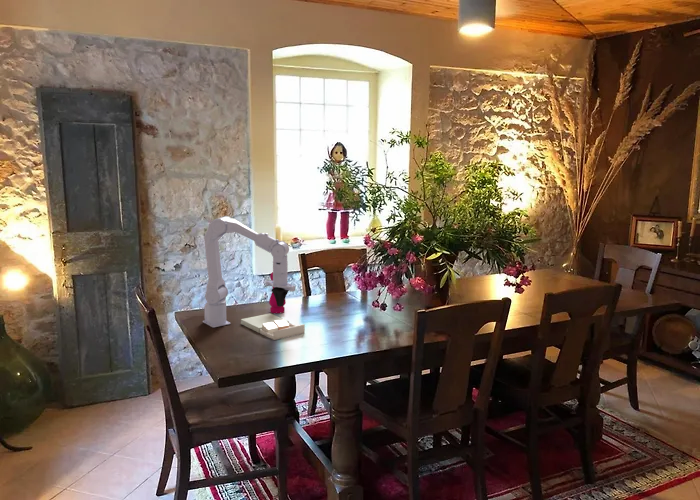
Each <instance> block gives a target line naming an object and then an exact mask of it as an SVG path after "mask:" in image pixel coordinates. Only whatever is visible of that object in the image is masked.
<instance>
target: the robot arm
mask: <svg viewBox="0 0 700 500" xmlns="http://www.w3.org/2000/svg"><path fill="white" fill-rule="evenodd" d="M232 233H236V234H239V235H240V236H244V237H245V238H247V239H248V240H252V241H253V242H254V243H255V246H257V247H259V248H260V249H261V250H264V251H265V252H267V253H270V255H271V256H272V272H273V281H272V280H271V279H269V280H266V281H265V286H267V287H272V288H271V293H272V292H273V294H274V296H275V299H276V302H277V306H279V307H281V306H283V304H284V300H286V297H287V295H288V293H289V292H291V293H292V292H295V291H296V286H295V285H293V284H291V283H289V282H288V281H289V280H288V278H289V277H288V271H289V270H288V269H289V268H288V265H289V264H288V254H289V251H290V247H289V245H288V244H287V242H286V241H283V240H281V241H280V239H278V238H274V237H272V236H270V235H269V233H268V232H260V233H259V232H256V231H254V229H251V228H250V227H248V226H247V225H245V224H243V223H241V221H238V220H237V219H235V218H232V217H230V216H228V215H224V216H220V217H219V218H215V219H212V221H211V222H210V223H208V227H207V230H206V232H205V234H204V237H203V239H204V241H203V242H204V249H205V257H206V267H207V275H208V282H207V283H206V287H205V288H206V292H205V294H204V295H205V296H204V299H205V300H206V303H205V304H204V320H202V323H204V324H205V325H207V326H208V327H211V328H217V327H222V326H226V325H231V322H230V321H228V320H227V300H226V299H227V298H226V297H227V296H228V295H229V290H228V287H227V286H226V282H225V280H224V279H223V274H222V265H221V255H220V253H221V252H220V247H219V246H220V245H219V243H220V242H219V240H221V238H222V237H223V236H224V235H225V234H232ZM273 287H274V289H273ZM283 307H284V306H283Z"/></svg>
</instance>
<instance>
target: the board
mask: <svg viewBox="0 0 700 500" xmlns="http://www.w3.org/2000/svg"><path fill="white" fill-rule="evenodd" d="M278 320H285V321H286V322H287V323H290V321H288V320H287V319H285V318H282V317H279V316H278V315H275V314H274V313H271V312H270V313H265V314H260V315H256V316H251V317H245V318H241V319H240V324H241V325H242V326H244V327H246V328H248V329H251V330H252V331H255V332H257V333H258V334H260V329H262V324H265V323H270V322H273V323H274V321H278Z"/></svg>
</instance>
